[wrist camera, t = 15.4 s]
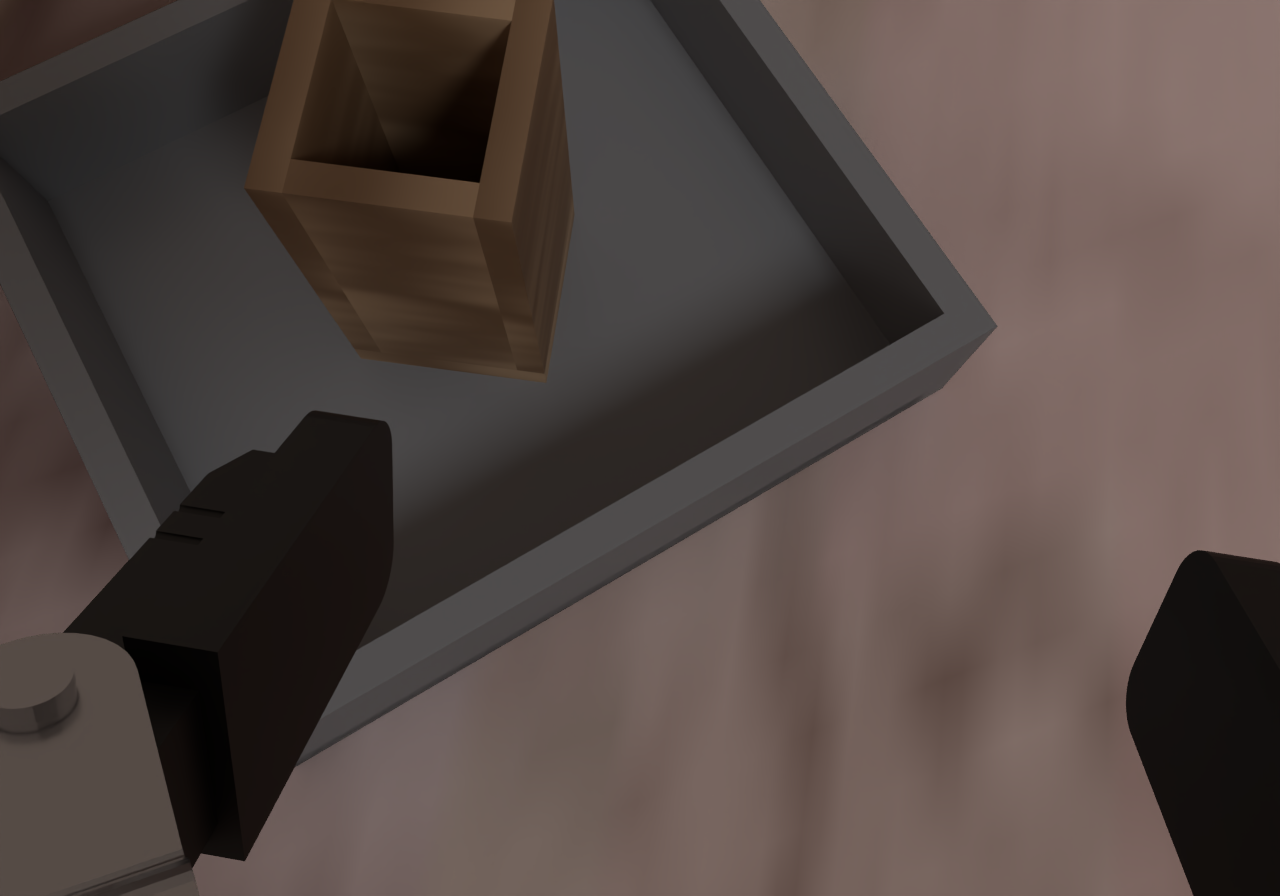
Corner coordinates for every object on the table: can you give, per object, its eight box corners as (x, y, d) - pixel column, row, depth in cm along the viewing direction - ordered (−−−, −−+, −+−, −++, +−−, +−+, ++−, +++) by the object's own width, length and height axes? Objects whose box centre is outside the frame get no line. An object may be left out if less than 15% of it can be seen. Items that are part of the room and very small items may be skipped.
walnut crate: (574, 214, 33) (553, -6, 23) (546, 382, 31) (511, 221, 22) (397, 192, 33) (303, -37, 23) (361, 358, 31) (244, 188, 22)
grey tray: (615, -77, 37) (614, -200, 32) (942, 388, 32) (997, 326, 28) (23, 206, 34) (-78, 117, 29) (294, 767, 29) (228, 772, 24)
